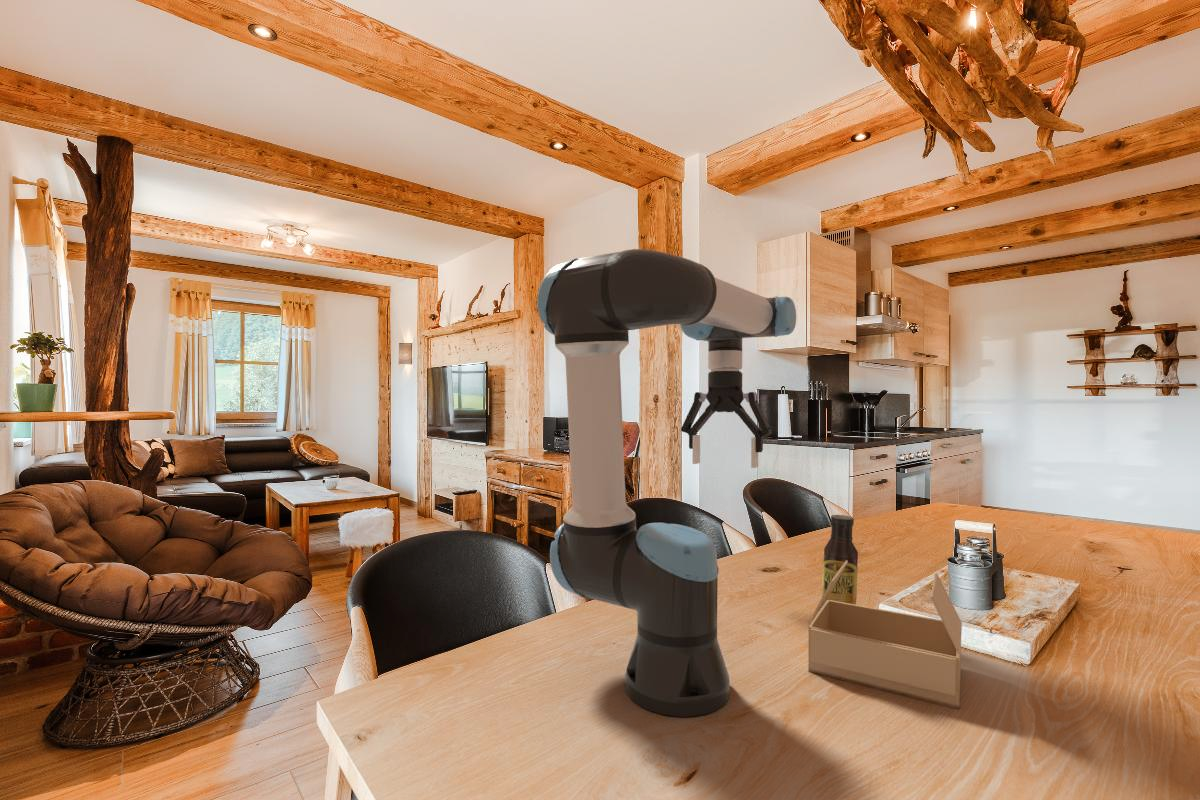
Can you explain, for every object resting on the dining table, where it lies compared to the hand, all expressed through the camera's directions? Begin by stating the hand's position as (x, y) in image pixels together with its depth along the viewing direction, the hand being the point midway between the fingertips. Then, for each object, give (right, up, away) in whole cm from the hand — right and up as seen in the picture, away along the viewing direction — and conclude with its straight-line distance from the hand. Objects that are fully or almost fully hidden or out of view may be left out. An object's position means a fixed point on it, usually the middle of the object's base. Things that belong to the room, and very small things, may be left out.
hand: (724, 465), depth 129 cm
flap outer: (+25, -20, -44) cm, 55 cm away
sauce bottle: (+18, -28, -18) cm, 38 cm away
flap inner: (+8, -20, -33) cm, 40 cm away
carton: (+17, -28, -39) cm, 51 cm away
